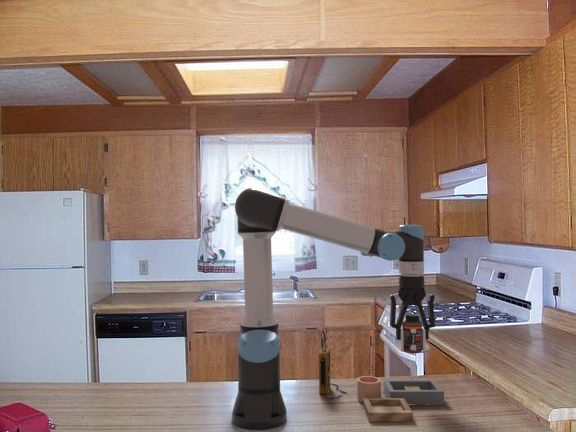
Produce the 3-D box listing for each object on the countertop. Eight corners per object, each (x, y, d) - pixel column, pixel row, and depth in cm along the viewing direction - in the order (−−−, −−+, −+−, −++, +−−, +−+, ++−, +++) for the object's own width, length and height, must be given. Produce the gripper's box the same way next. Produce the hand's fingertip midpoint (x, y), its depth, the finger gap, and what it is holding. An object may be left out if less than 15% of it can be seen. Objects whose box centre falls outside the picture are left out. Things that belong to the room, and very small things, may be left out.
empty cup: (358, 403, 153) (358, 383, 153) (356, 395, 160) (355, 376, 160) (382, 403, 153) (382, 383, 153) (378, 395, 160) (378, 376, 160)
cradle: (389, 405, 151) (389, 391, 151) (383, 392, 162) (383, 379, 162) (444, 405, 151) (443, 391, 151) (434, 392, 162) (433, 379, 162)
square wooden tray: (368, 421, 139) (368, 412, 139) (363, 406, 150) (363, 397, 150) (412, 421, 139) (412, 412, 139) (404, 406, 150) (403, 397, 150)
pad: (406, 394, 154) (406, 391, 154) (403, 389, 159) (403, 386, 159) (421, 394, 154) (421, 391, 154) (418, 389, 159) (418, 386, 159)
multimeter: (349, 400, 155) (349, 335, 155) (317, 398, 157) (316, 333, 157) (353, 385, 170) (352, 325, 170) (323, 383, 172) (323, 324, 172)
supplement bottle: (418, 355, 152) (418, 317, 152) (399, 352, 156) (399, 315, 156) (424, 350, 157) (424, 313, 158) (406, 348, 161) (405, 312, 161)
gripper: (382, 276, 153) (383, 353, 153) (446, 276, 153) (447, 353, 153) (378, 273, 161) (379, 347, 160) (439, 273, 160) (439, 347, 160)
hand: (412, 350), depth 157 cm, fingers closed on supplement bottle, 6 cm apart
